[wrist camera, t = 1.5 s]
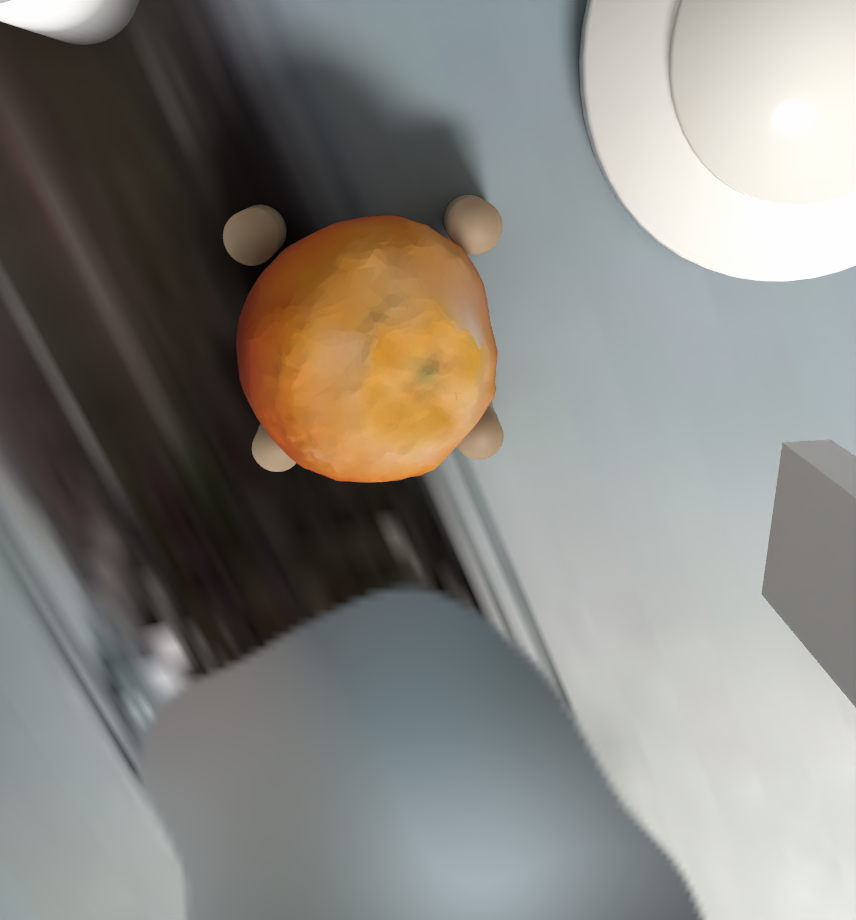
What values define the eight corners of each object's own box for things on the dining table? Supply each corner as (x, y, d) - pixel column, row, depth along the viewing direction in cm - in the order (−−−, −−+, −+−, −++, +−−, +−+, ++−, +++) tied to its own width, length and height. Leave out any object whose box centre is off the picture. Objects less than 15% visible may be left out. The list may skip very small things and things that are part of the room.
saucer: (573, 286, 27) (582, 294, 26) (586, -221, 22) (599, -244, 21) (967, 266, 28) (996, 272, 26) (1074, -236, 22) (1116, -259, 21)
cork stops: (265, 446, 29) (255, 473, 26) (234, 205, 26) (219, 211, 23) (494, 433, 29) (503, 458, 27) (491, 193, 26) (502, 198, 23)
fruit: (183, 196, 24) (297, 226, 18) (401, 202, 28) (552, 228, 22) (195, 443, 27) (296, 540, 21) (390, 414, 31) (521, 487, 25)
